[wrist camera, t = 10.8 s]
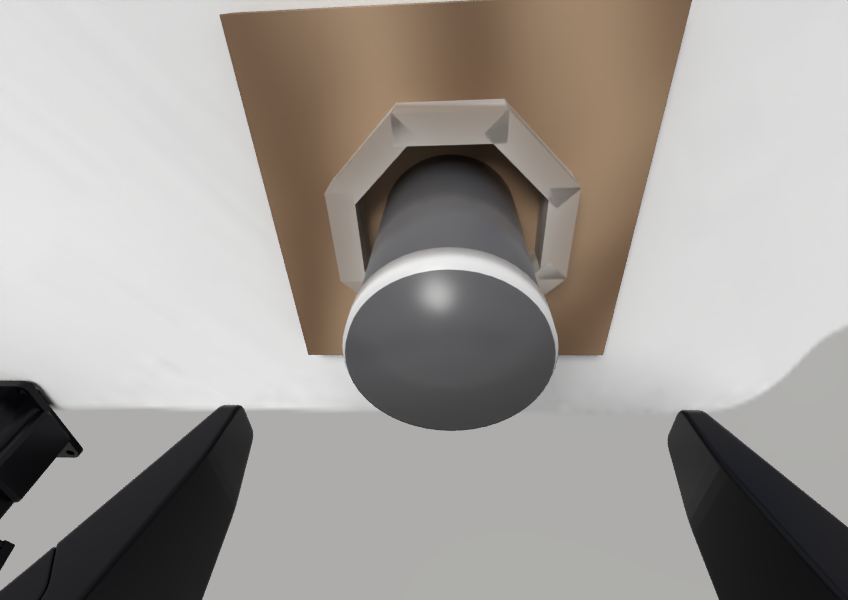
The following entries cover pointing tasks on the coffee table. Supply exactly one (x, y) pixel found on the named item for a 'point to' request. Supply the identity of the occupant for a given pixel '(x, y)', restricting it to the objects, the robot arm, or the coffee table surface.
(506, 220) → the lens cylinder
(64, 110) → the coffee table surface
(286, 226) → the collar holder
